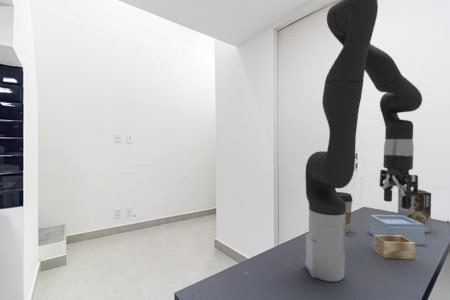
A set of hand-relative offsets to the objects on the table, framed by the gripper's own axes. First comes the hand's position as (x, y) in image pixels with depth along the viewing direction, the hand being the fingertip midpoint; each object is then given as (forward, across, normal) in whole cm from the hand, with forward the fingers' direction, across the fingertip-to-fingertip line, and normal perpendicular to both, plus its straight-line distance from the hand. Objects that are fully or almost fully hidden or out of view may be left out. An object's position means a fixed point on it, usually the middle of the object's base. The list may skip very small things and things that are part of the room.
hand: (396, 204), depth 75 cm
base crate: (+16, -14, +9) cm, 23 cm away
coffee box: (+16, -24, +23) cm, 37 cm away
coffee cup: (+16, -20, -8) cm, 27 cm away
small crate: (+16, 0, 0) cm, 16 cm away
